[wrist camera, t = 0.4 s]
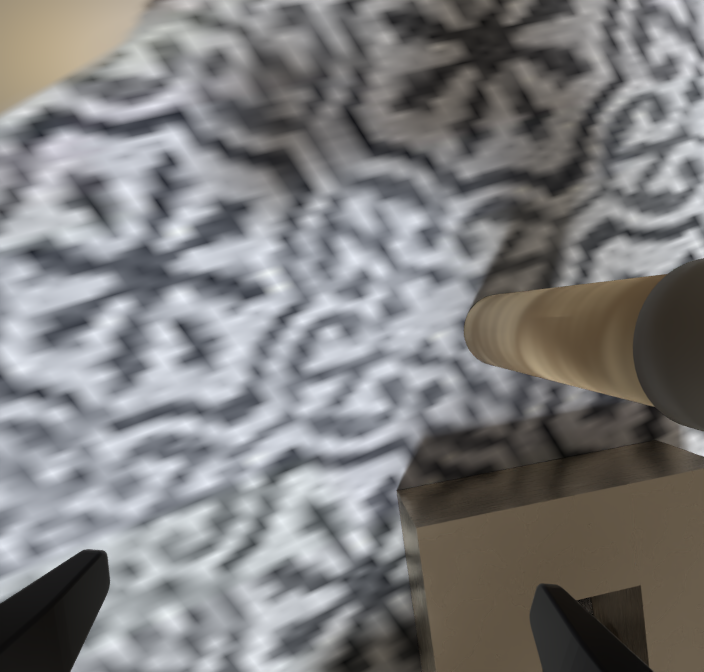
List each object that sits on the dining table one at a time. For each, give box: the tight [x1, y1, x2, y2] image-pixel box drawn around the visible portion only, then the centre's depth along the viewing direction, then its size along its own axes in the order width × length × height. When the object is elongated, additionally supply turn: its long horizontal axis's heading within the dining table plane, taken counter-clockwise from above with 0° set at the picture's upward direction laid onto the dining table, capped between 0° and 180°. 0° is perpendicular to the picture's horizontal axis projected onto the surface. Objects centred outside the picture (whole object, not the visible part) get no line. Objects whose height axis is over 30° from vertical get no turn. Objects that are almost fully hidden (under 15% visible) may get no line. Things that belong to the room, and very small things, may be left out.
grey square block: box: [397, 440, 704, 672], centre depth 22 cm, size 16×16×4 cm
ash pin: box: [464, 258, 704, 431], centre depth 16 cm, size 5×5×13 cm
